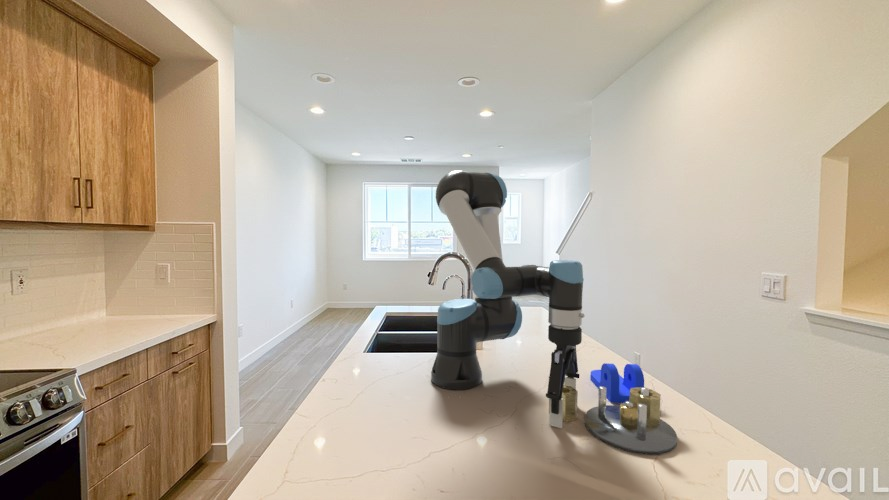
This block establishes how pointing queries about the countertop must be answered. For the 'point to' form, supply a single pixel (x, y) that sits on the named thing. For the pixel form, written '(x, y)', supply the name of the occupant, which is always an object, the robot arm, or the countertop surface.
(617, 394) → the bracket
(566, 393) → the octagonal wooden tube
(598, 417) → the carrier
